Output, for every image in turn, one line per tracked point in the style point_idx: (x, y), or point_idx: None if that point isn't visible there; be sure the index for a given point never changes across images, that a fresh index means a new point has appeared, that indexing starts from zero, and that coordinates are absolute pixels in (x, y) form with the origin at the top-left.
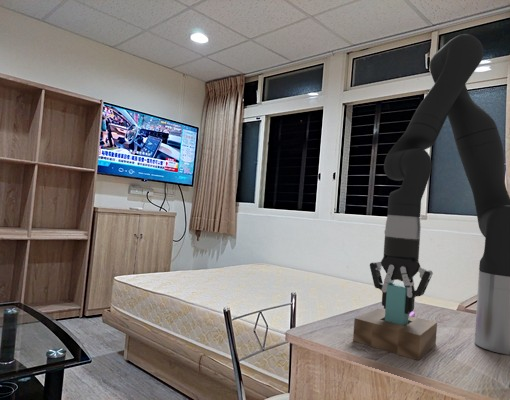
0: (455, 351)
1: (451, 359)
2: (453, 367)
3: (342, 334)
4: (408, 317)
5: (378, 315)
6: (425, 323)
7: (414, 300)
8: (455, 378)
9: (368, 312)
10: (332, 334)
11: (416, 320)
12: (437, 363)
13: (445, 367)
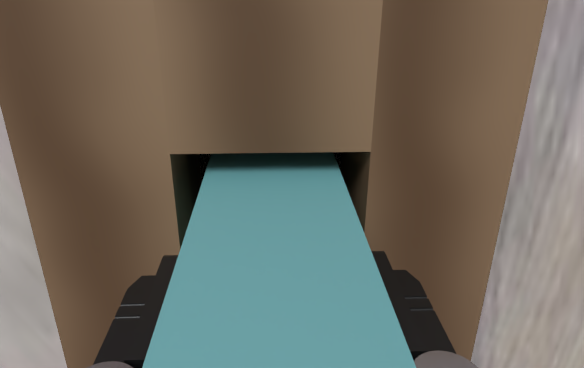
0: (579, 27)
1: (550, 182)
2: (553, 269)
3: (30, 283)
4: (346, 190)
5: (126, 229)
6: (464, 128)
7: (449, 341)
8: (554, 359)
9: (31, 218)
10: (5, 320)
11: (389, 100)
12: (492, 279)
13: (523, 294)
